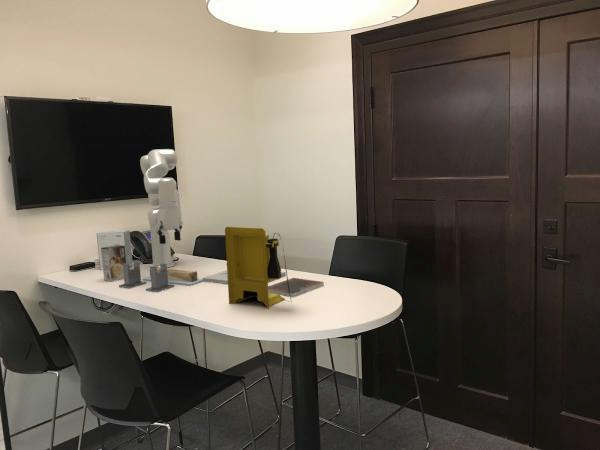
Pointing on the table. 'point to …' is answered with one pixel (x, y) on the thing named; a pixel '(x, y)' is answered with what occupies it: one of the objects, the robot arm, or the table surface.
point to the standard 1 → (132, 276)
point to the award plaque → (224, 277)
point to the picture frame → (294, 287)
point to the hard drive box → (115, 243)
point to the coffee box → (113, 262)
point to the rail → (181, 275)
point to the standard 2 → (159, 279)
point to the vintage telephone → (252, 265)
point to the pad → (178, 281)
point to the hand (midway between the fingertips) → (170, 241)
